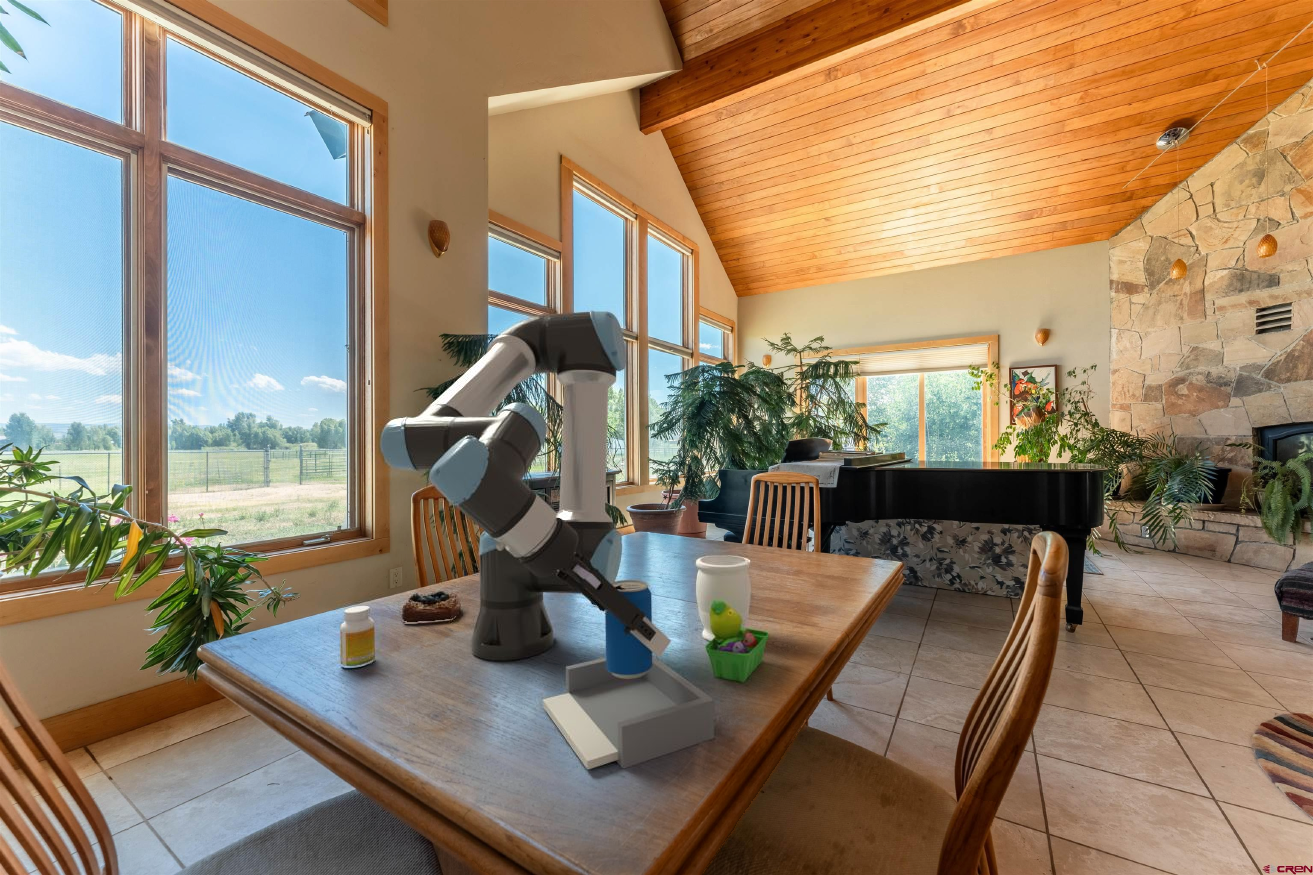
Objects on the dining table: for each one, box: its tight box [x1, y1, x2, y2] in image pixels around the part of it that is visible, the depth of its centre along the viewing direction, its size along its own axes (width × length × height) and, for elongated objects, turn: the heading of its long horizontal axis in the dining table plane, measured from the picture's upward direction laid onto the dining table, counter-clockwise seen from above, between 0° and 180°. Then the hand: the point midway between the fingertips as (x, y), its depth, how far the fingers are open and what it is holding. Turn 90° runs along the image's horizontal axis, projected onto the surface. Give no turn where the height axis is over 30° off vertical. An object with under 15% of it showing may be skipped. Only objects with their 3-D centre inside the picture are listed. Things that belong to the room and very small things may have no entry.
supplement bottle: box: [339, 605, 376, 666], centre depth 98 cm, size 5×5×10 cm
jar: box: [695, 554, 752, 642], centre depth 108 cm, size 11×10×15 cm
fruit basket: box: [705, 600, 770, 683], centre depth 93 cm, size 11×9×11 cm
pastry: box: [401, 590, 462, 622], centre depth 124 cm, size 11×12×6 cm
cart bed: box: [542, 655, 715, 770], centre depth 77 cm, size 20×17×5 cm
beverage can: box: [604, 579, 653, 679], centre depth 77 cm, size 6×6×12 cm
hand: (651, 639), depth 79 cm, fingers closed on beverage can, 6 cm apart
